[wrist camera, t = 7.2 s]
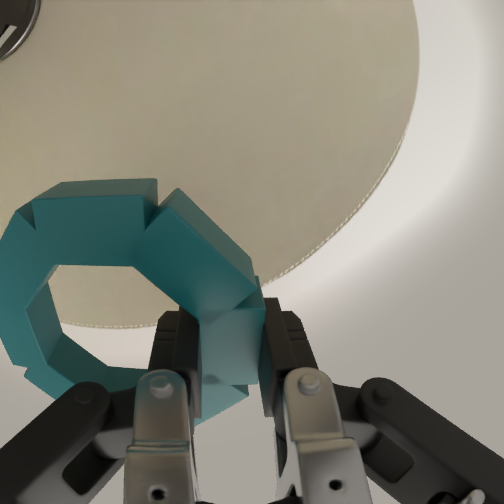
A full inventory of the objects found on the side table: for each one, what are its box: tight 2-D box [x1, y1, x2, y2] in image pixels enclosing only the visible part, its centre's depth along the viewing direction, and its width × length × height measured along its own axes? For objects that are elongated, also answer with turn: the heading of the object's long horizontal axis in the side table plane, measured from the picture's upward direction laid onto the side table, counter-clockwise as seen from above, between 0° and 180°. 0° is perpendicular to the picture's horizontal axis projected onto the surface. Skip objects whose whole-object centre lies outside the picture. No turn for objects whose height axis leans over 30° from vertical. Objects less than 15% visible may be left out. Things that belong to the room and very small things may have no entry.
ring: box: [0, 178, 266, 427], centre depth 10 cm, size 10×10×2 cm
